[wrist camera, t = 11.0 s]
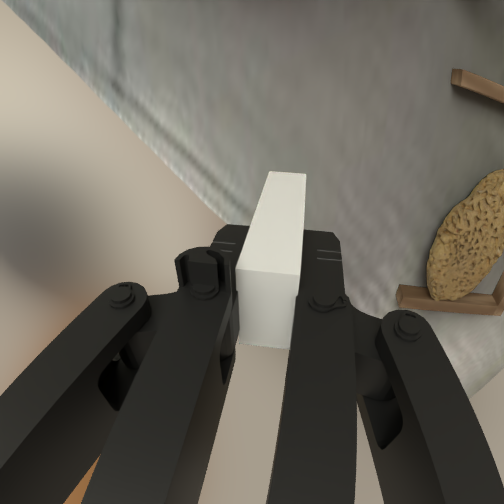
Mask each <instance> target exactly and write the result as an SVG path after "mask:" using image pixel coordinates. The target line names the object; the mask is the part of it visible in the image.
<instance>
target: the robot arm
mask: <svg viewBox="0 0 504 504" xmlns="http://www.w3.org/2000/svg"><path fill="white" fill-rule="evenodd" d="M305 190H306V174H300V173H287V172H273V171H269V174H268V177H267V180H266V183H265V185H264V188H263V191H262V194H261V197H260V200H259V202H258V205H257V208H256V211H255V214H254V217H253V220H252V222H251V225H250V226H243V225H230V224H227V225H226V226H224V227H223V228H222V229H220V230H219V231H218V232H217V234H216V236H215V238H214V240H213V243H212V244H211V246H210V247H196V248H192V249H188V250H186V251H184V252H183V253H181V254H179V256H178V257H177V258H176V259H175V266H176V271H177V276H178V282H179V289H178V291H177V292H174V293H169V294H161V295H151V296H148V295H147V292H146V290H145V288H144V287H143V286H141V285H140V284H138V283H133V282H124V283H123V282H122V283H118V284H116V285H113V286H111V287H109V288H108V289H106V290H105V291H104V292H103V293H102V294H100V295H99V296H98V297H97V298H96V299H95V300H94V301H93V302H92V303H91V304H90V305H89V306H88V307H87V308H86V309H85V310H84V311H82V312H81V313H80V315H78V316H77V317H76V318H75V319H74V320H73V321H72V322H71V323H70V324H69V325H68V326H67V327H66V328H65V329H64V330H63V331H62V332H61V333H60V334H59V335H58V336H57V337H56V338H55V339H54V340H53V341H52V342H51V343H50V344H49V345H48V346H47V347H46V348H45V349H44V350H43V351H42V352H41V353H40V354H39V355H38V356H37V357H36V358H35V359H34V360H33V361H32V363H30V365H29V366H28V367H27V368H26V369H25V370H24V371H23V372H22V373H21V374H20V375H19V376H18V377H17V378H16V379H15V381H14V382H13V383H12V384H11V385H10V386H9V387H8V388H7V389H6V390H5V392H4V393H3V394H2V395H1V396H0V504H63V503H64V502H65V501H66V499H67V498H68V497H69V495H70V494H71V492H72V491H73V490H74V489H75V487H76V486H77V485H78V483H79V482H80V480H81V479H82V478H83V477H84V475H85V474H86V473H87V471H88V470H89V469H90V467H91V466H92V465H93V463H94V462H95V461H96V460H97V458H98V457H99V456H100V457H99V460H98V462H97V465H96V467H95V470H94V472H93V474H92V477H91V480H90V482H89V485H88V487H87V490H86V492H85V495H84V497H83V500H82V502H81V504H198V500H199V496H200V493H201V489H202V485H203V482H204V478H205V474H206V470H207V467H208V463H209V459H210V455H211V451H212V447H213V444H214V440H215V436H216V432H217V429H218V425H219V421H220V417H221V413H222V409H223V406H224V402H225V398H226V394H227V390H228V386H229V382H230V378H231V374H232V371H233V367H234V363H235V345H236V341H237V338H238V335H239V344H247V345H255V346H263V347H271V348H280V349H289V358H288V365H287V372H286V378H285V388H284V395H283V402H282V410H281V416H280V423H279V430H278V437H277V442H276V449H275V455H274V461H273V468H272V473H271V479H270V485H269V490H268V495H267V501H266V504H354V500H355V482H356V453H357V404H358V407H359V411H360V413H361V417H362V421H363V424H364V428H365V431H366V435H367V439H368V442H369V446H370V449H371V453H372V457H373V461H374V465H375V468H376V472H377V476H378V480H379V484H380V488H381V492H382V496H383V500H384V504H504V487H503V484H502V481H501V478H500V475H499V472H498V470H497V467H496V464H495V461H494V458H493V456H492V453H491V451H490V448H489V446H488V443H487V441H486V438H485V436H484V433H483V431H482V429H481V426H480V424H479V422H478V419H477V417H476V415H475V413H474V410H473V408H472V406H471V404H470V401H469V399H468V397H467V395H466V393H465V391H464V389H463V387H462V385H461V382H460V380H459V378H458V376H457V374H456V372H455V370H454V369H453V367H452V365H451V363H450V361H449V359H448V357H447V355H446V353H445V351H444V349H443V348H442V346H441V344H440V342H439V340H438V338H437V337H436V335H435V333H434V331H433V329H432V328H431V326H430V325H429V323H428V322H427V321H426V320H425V319H424V318H423V317H421V316H420V315H418V314H417V313H415V312H411V311H408V310H395V311H392V312H389V313H388V314H387V315H386V316H384V317H383V319H379V318H376V317H373V316H370V315H367V314H365V313H363V312H361V311H359V310H358V309H356V308H355V307H353V305H352V304H351V303H350V300H349V297H348V296H347V295H346V294H345V288H344V277H343V267H342V257H341V248H340V241H339V240H338V238H337V237H336V236H335V235H334V233H333V232H324V231H313V230H303V227H304V210H305ZM100 454H101V455H100Z"/></svg>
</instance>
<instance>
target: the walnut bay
mask: <svg viewBox="0 0 504 504" xmlns="http://www.w3.org/2000/svg"><path fill="white" fill-rule="evenodd" d="M451 84H454V85H457V86H459V87H462V88H465V89H468V90H471V91H473V92H476V93H478V94H481V95H484V96H486V97H489V98H491V99H493V100H496V101H498V102H500V103H503V104H504V86H502V85H499V84H497V83H495V82H493V81H490V80H488V79H486V78H483V77H481V76H478V75H476V74H473V73H471V72H468V71H466V70H463V69H452V77H451ZM396 297H397V301H398V305H399V307H401V308H411V309H422V310H432V311H444V312H456V313H469V314H482V315H497V316H501V314H502V312H503V311H504V272H503V274H502V276H501V278H500V280H499V282H498V284H497V286H496V288H495V290H494V292H493V294H492V295H487V294H478V293H468V294H466V295H465V296H463V297H462V298H460V299H459V298H458V300H453V301H452V300H449V299H448V300H439V301H435V299H433V298H432V297H431V295H430V292H429V289H428V288H425V287H417V286H408V285H399V287H398V290H397V292H396Z"/></svg>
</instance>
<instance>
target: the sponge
mask: <svg viewBox="0 0 504 504" xmlns="http://www.w3.org/2000/svg"><path fill="white" fill-rule="evenodd" d="M503 249H504V169H502V170H496V171H495V172H492V173H489V174H488V175H487V177H485V178H484V179H482V180H481V181H480V183H479V184H478V185H477V186H476V187H475V188H474V189H473V190H472V192H471V194H470V196H468V197H467V198H466V199H465V200H463V201H461V202H460V203H458V204H457V205H456V206H455V207H453V209H452V210H451V212H450V213H449V214H448V215H447V216H446V218H445V220H444V221H443V224H442V225H441V227H440V228H439V229H438V231H437V236H436V238H435V240H434V243H433V245H432V248H431V250H430V254H429V259H428V262H427V268H426V271H427V287H428V289H429V292H430V295H431V297H432V298H433V299H435V301H439V300H448V299H449V300H452V301H453V300H458V298H459V299H460V298H462V297H463V296H465V295H466V294H468V293H470V292H471V291H472V290H473V289H474V288H475V287H476V286H477V285H478V284H479V283H480V282H481V281H482V279H483V278H484V277H485V276H486V275H487V274H488V273H489V272H490V270H491V268H492V265H493V264H494V263H496V262H497V259H498V258H499V257H500V256H501V255H502V253H503Z"/></svg>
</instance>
